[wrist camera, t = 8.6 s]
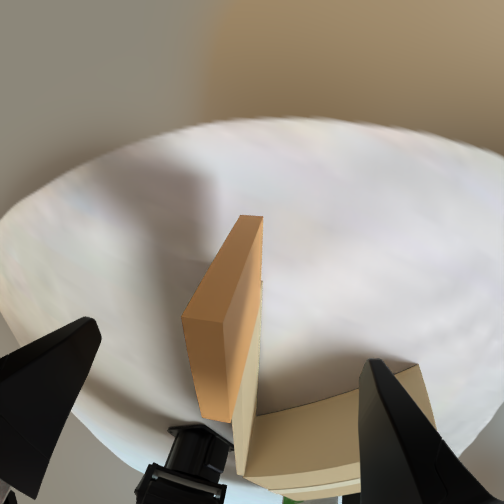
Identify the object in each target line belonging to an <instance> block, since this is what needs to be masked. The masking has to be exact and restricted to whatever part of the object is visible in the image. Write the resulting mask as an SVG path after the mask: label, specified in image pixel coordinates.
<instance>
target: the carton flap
mask: <svg viewBox="0 0 504 504" xmlns="http://www.w3.org/2000/svg"><path fill="white" fill-rule="evenodd" d="M262 237H263V216H249V215H240V217H239V218H238V220H237V222H236V223H235V225H234V227H233V228H232V230H231V232H230V233H229V235H228V237H227V238H226V240H225V242H224V243H223V245H222V247H221V248H220V250H219V252H218V253H217V255H216V257H215V259H214V260H213V262H212V264H211V265H210V267H209V269H208V271H207V272H206V274H205V276H204V277H203V279H202V281H201V283H200V284H199V286H198V288H197V290H196V291H195V293H194V295H193V297H192V298H191V300H190V302H189V304H188V305H187V307H186V309H185V311H184V312H183V314H182V316H181V319H182V324H183V330H184V336H185V341H186V346H187V352H188V357H189V362H190V367H191V372H192V376H193V381H194V385H195V390H196V394H197V399H198V403H199V407H200V411H201V415H202V418H206V419H211V420H216V421H221V422H227V423H231V419H232V428H233V439H234V450H235V461H236V471H237V475H243V476H244V473H245V468H246V463H247V459H248V454H249V449H250V444H251V439H252V435H253V430H254V425H255V419H256V407H257V390H258V371H259V352H260V331H261V310H262V288H263V281H261V265H262Z"/></svg>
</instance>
